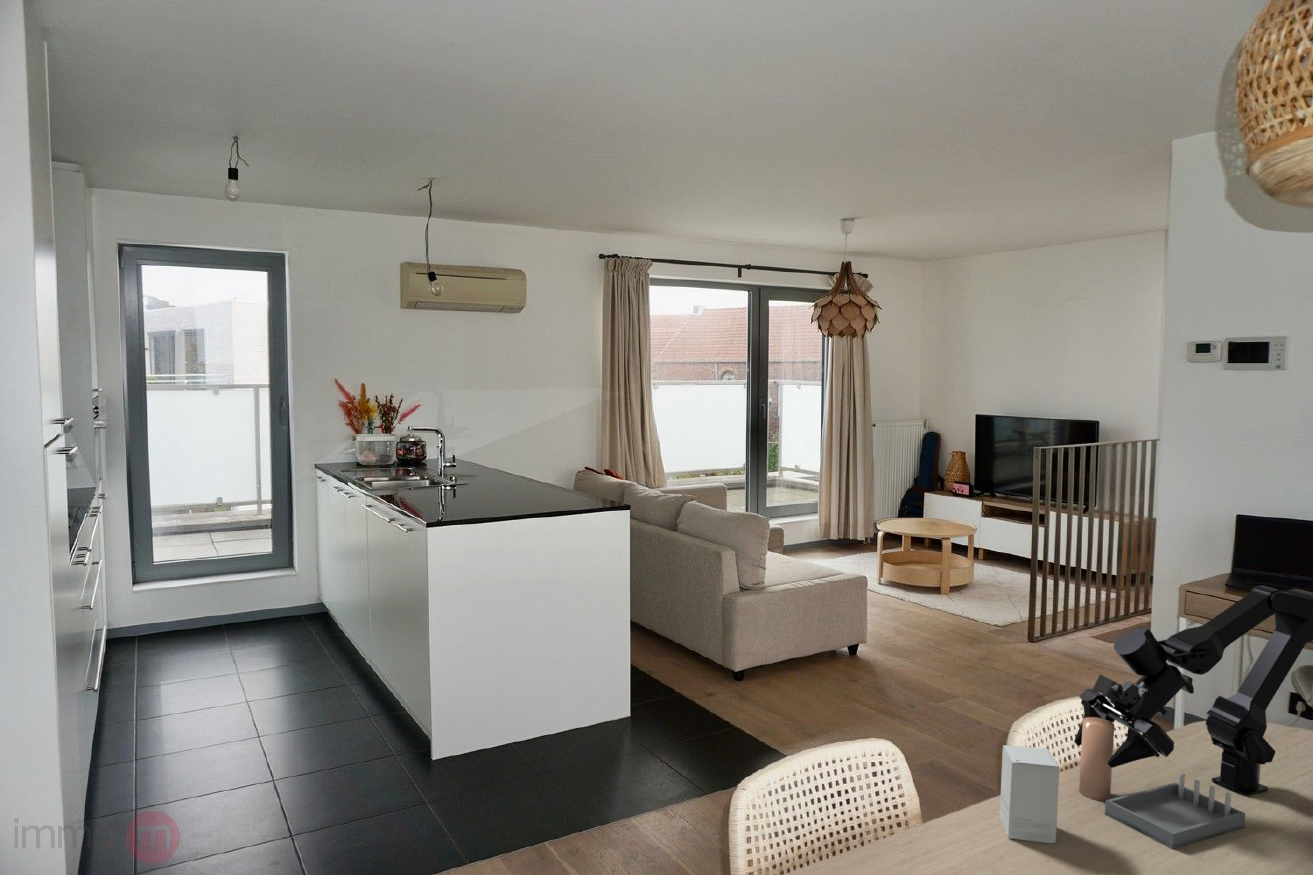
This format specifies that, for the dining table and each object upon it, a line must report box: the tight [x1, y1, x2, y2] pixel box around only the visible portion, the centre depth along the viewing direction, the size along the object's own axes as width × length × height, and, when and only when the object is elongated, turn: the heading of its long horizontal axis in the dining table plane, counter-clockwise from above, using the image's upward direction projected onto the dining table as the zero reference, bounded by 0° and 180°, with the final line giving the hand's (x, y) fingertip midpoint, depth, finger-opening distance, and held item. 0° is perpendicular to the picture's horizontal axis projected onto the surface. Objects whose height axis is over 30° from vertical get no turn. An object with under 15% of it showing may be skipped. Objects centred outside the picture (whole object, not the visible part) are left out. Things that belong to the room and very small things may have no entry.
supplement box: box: [999, 744, 1060, 844], centre depth 141 cm, size 7×7×13 cm
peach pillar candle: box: [1078, 717, 1115, 801], centre depth 154 cm, size 5×5×13 cm
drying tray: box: [1104, 772, 1246, 850], centre depth 145 cm, size 18×12×5 cm, turn 114°
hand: (1092, 754), depth 154 cm, fingers open, 9 cm apart
